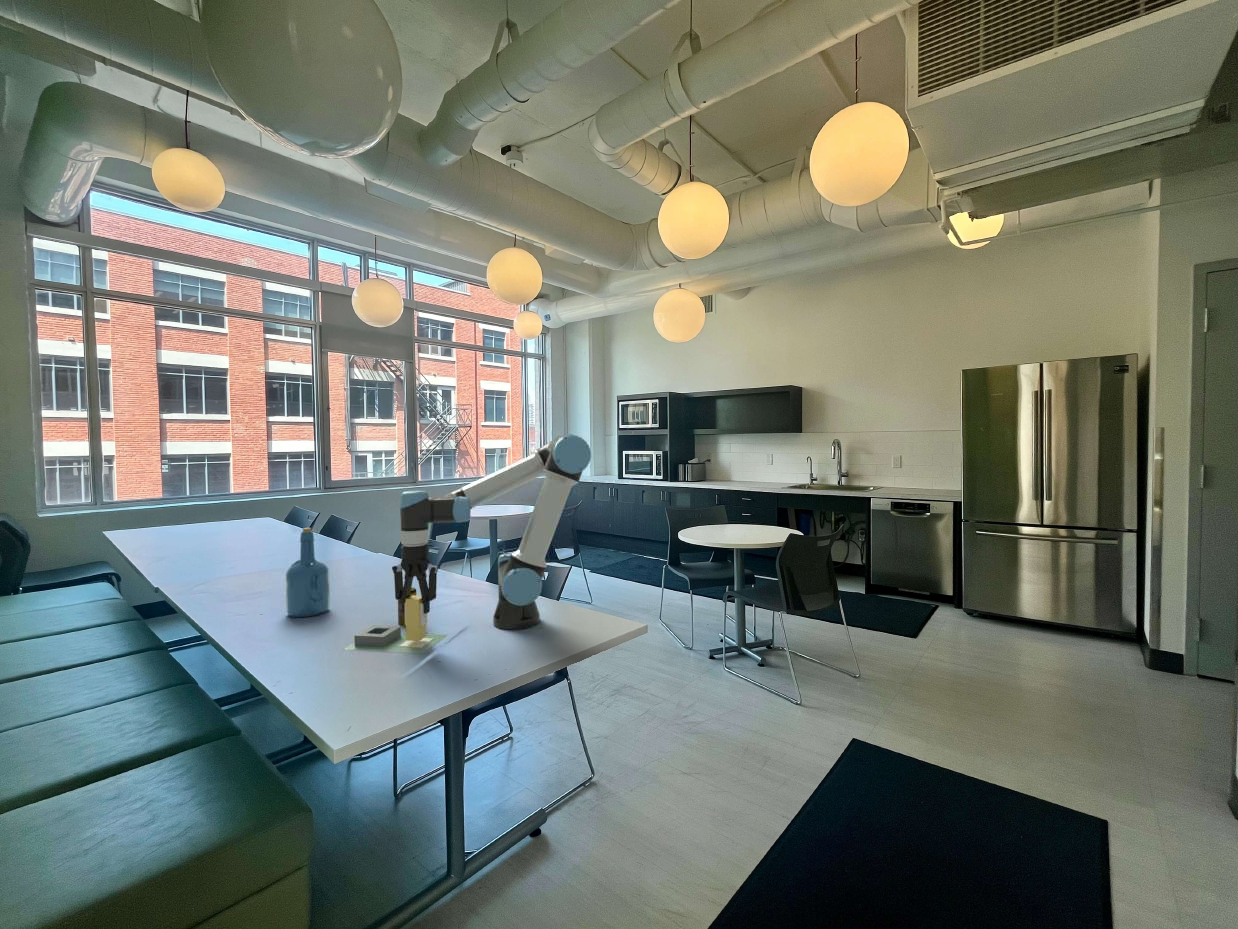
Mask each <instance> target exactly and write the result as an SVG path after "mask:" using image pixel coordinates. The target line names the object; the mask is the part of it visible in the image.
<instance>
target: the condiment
mask: <svg viewBox="0 0 1238 929" xmlns="http://www.w3.org/2000/svg"><path fill="white" fill-rule="evenodd" d="M413 595H415V596H417V589H416V588H415V587H411V592H410V597H411V596H413ZM397 616H398V617H397V620H398V621H397V623H398V625H399V626H406V625H405V613H403V612H402V601H401V600H397Z"/></svg>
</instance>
